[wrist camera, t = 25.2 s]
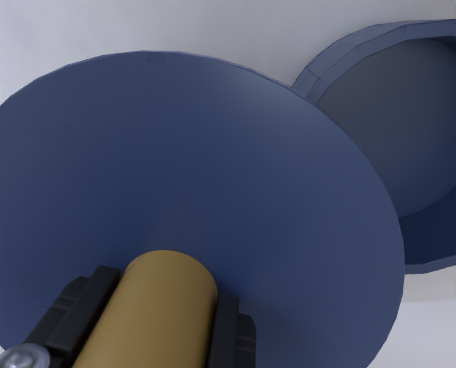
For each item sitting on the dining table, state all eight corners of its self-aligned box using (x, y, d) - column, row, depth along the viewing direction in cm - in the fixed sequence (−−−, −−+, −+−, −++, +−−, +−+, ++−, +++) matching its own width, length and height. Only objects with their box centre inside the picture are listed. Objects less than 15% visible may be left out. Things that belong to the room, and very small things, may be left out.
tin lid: (-17, 368, 18) (-159, 542, 12) (-50, -8, 11) (-425, -53, 5) (314, 443, 18) (340, 652, 12) (481, 119, 11) (739, 225, 5)
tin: (256, 203, 30) (255, 246, 24) (311, -2, 24) (329, -12, 18) (436, 243, 30) (480, 296, 24) (539, 51, 24) (631, 58, 18)
